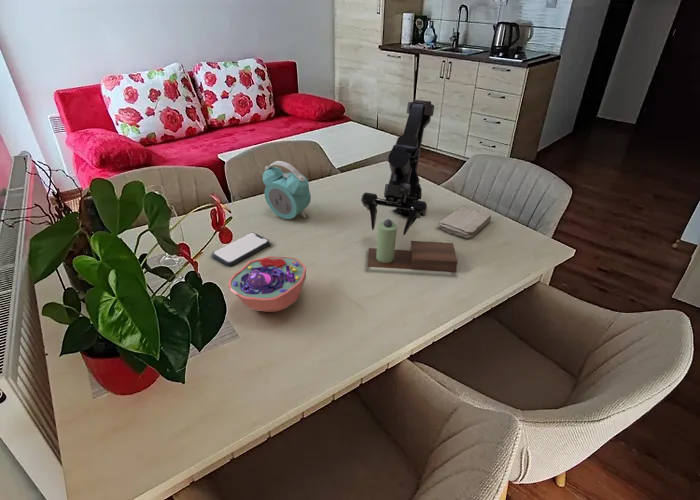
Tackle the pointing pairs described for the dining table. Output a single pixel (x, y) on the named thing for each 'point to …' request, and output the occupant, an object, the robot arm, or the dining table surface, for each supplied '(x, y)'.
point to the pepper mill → (386, 241)
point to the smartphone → (240, 249)
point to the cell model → (269, 283)
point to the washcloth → (464, 222)
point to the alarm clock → (286, 191)
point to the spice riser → (420, 257)
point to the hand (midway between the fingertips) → (388, 232)
